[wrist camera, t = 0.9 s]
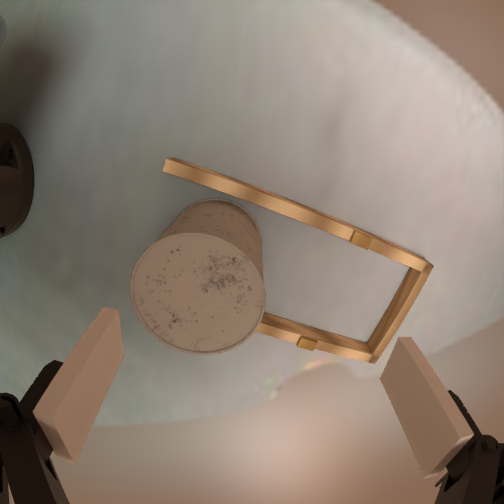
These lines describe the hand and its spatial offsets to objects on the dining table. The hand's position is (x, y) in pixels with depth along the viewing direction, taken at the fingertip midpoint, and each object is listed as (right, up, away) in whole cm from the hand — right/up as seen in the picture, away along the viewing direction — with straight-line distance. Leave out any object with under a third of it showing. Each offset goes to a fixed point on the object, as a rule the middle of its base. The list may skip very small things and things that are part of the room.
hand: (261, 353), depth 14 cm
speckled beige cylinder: (-4, +5, +19) cm, 21 cm away
